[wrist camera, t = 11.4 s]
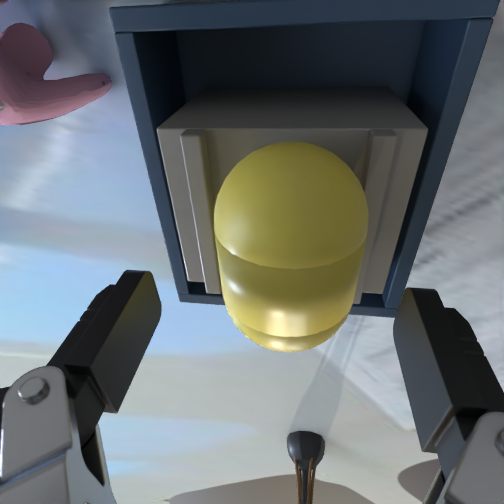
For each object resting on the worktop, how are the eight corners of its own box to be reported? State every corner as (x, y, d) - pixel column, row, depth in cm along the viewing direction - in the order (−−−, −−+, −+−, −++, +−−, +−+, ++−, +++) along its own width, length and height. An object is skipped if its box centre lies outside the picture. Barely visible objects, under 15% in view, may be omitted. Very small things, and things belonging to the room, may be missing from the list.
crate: (161, 5, 17) (106, 7, 12) (445, -10, 15) (506, -13, 10) (201, 249, 26) (179, 302, 22) (379, 259, 24) (395, 318, 20)
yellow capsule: (200, 128, 12) (210, 195, 7) (341, 115, 12) (423, 171, 8) (222, 295, 17) (235, 391, 12) (321, 280, 17) (365, 367, 13)
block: (205, 86, 19) (147, 135, 12) (387, 83, 18) (436, 136, 11) (219, 208, 24) (183, 292, 17) (362, 213, 22) (386, 306, 16)
